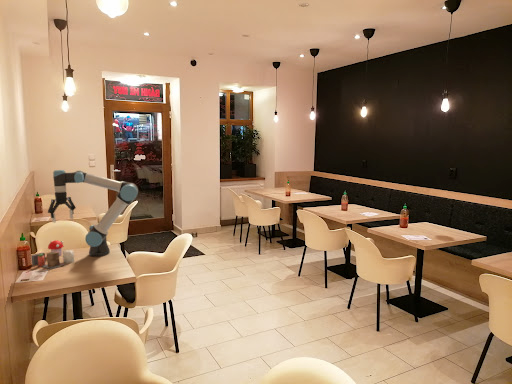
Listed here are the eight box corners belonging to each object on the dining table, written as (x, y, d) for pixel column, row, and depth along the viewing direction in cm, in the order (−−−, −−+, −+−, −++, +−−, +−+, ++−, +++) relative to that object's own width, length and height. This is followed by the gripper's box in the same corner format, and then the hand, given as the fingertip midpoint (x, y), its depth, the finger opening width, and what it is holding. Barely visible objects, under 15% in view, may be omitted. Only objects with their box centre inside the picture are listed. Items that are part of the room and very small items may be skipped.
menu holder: (43, 261, 283) (42, 252, 282) (45, 262, 281) (44, 253, 280) (32, 264, 276) (31, 255, 275) (34, 265, 275) (33, 256, 274)
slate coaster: (56, 262, 280) (56, 261, 280) (65, 264, 275) (65, 264, 275) (41, 266, 271) (41, 266, 271) (51, 269, 265) (50, 268, 265)
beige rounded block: (70, 259, 287) (69, 249, 286) (76, 261, 283) (75, 250, 282) (61, 262, 281) (60, 251, 280) (67, 263, 277) (66, 253, 276)
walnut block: (55, 263, 277) (54, 251, 275) (59, 264, 274) (58, 252, 273) (47, 265, 272) (46, 253, 271) (52, 266, 269) (51, 254, 268)
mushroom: (67, 254, 299) (66, 239, 298) (53, 258, 290) (52, 243, 289) (59, 252, 305) (58, 238, 303) (45, 256, 296) (44, 241, 294)
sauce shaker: (42, 264, 276) (41, 253, 275) (46, 265, 274) (45, 253, 273) (37, 266, 273) (36, 254, 272) (40, 267, 271) (39, 255, 270)
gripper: (73, 189, 289) (75, 216, 292) (40, 193, 267) (43, 223, 270) (79, 189, 285) (81, 217, 288) (46, 194, 264) (49, 224, 266)
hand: (63, 220), depth 279 cm, fingers open, 13 cm apart
